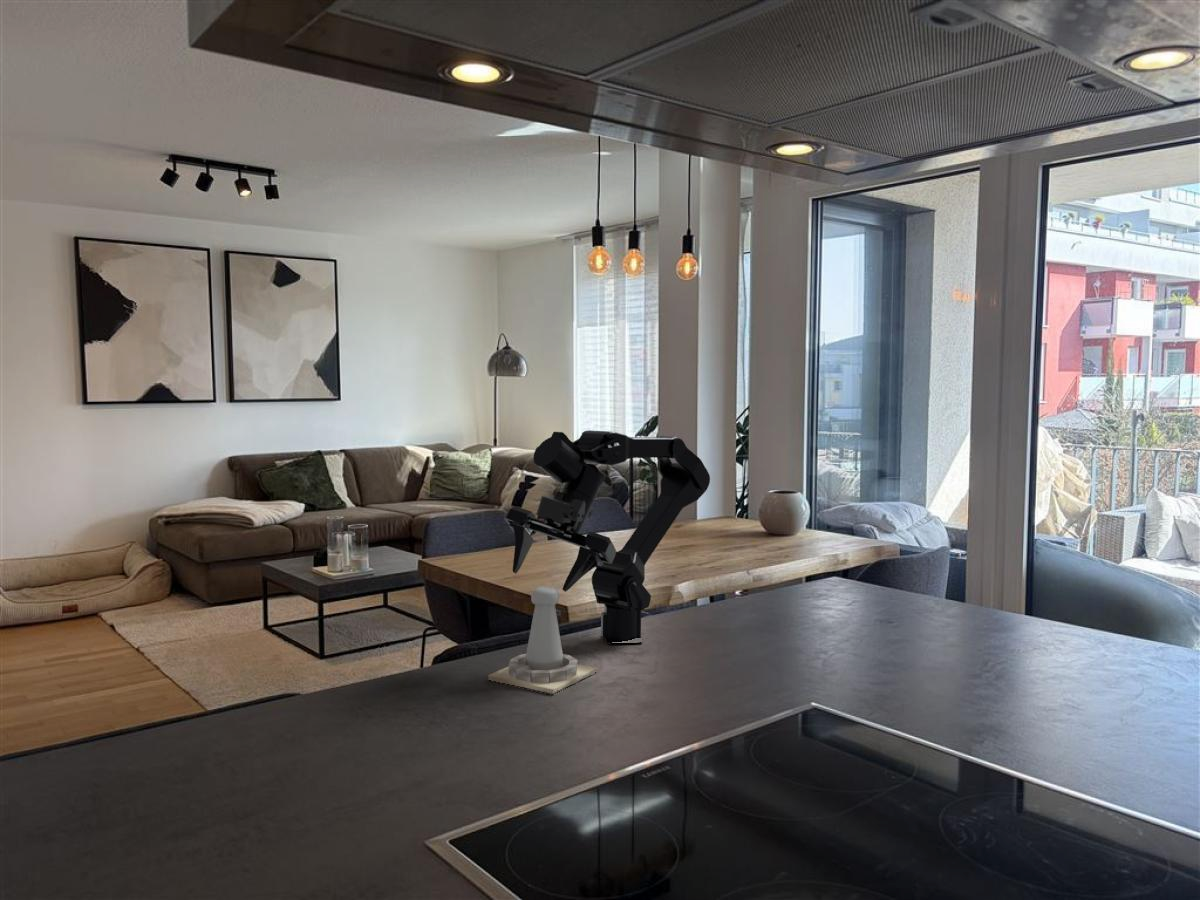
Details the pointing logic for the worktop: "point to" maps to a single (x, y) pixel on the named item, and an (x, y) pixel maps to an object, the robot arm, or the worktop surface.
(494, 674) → the ring stand
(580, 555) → the robot arm
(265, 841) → the worktop surface
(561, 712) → the worktop surface
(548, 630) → the salt shaker
